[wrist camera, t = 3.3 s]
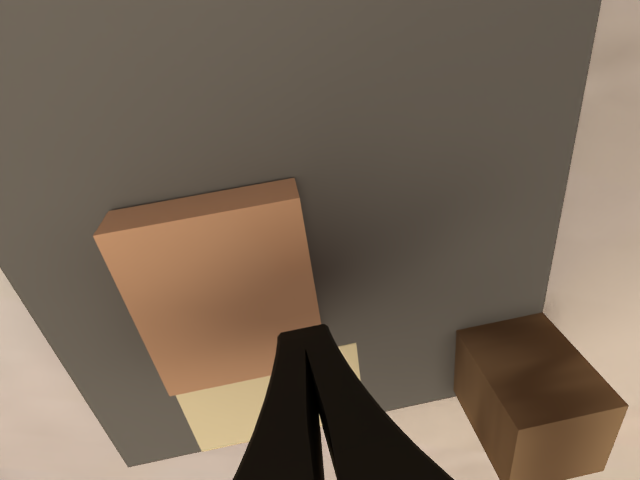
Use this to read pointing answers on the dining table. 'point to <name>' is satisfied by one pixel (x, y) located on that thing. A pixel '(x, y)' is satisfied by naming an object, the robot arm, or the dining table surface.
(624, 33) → the dining table surface
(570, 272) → the dining table surface
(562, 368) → the block
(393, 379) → the mat
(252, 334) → the tile
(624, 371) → the dining table surface
